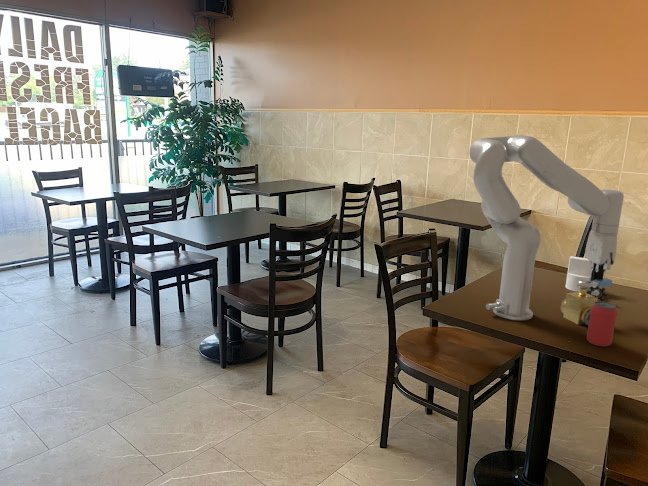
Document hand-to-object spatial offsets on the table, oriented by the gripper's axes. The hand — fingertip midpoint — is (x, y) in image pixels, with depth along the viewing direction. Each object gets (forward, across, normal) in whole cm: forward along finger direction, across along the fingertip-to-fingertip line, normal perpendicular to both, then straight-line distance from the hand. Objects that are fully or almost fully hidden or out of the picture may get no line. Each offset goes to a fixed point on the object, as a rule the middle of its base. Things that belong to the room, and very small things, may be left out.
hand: (596, 282), depth 168 cm
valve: (+12, -17, +11) cm, 23 cm away
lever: (0, +4, -3) cm, 5 cm away
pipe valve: (+11, +5, -7) cm, 14 cm away
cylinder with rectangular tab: (+12, -26, +10) cm, 30 cm away
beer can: (+12, +22, -10) cm, 26 cm away
